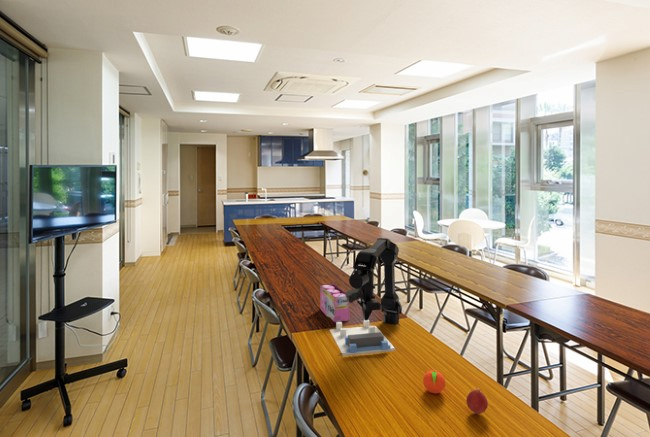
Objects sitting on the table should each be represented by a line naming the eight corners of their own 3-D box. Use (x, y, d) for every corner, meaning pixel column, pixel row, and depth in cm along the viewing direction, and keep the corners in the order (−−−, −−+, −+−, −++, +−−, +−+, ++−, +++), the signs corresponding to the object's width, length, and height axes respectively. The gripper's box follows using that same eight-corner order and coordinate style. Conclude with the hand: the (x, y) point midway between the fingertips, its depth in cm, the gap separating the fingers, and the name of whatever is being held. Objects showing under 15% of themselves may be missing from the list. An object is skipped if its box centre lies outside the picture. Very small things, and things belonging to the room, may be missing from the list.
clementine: (445, 401, 120) (446, 379, 119) (422, 397, 122) (423, 376, 121) (444, 387, 128) (445, 367, 127) (423, 384, 129) (423, 364, 129)
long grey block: (380, 342, 160) (380, 332, 159) (383, 346, 156) (383, 336, 155) (347, 345, 157) (347, 335, 156) (350, 350, 153) (350, 339, 153)
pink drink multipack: (319, 308, 205) (318, 284, 204) (332, 307, 208) (332, 282, 206) (334, 324, 183) (334, 297, 181) (349, 322, 185) (350, 295, 184)
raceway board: (375, 327, 179) (375, 319, 178) (395, 351, 154) (395, 341, 154) (329, 331, 174) (329, 322, 174) (342, 356, 150) (342, 346, 149)
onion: (463, 414, 113) (464, 389, 112) (469, 405, 117) (470, 381, 117) (483, 422, 109) (485, 396, 108) (489, 412, 114) (490, 387, 113)
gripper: (341, 277, 161) (341, 313, 163) (353, 290, 143) (353, 330, 144) (366, 276, 163) (366, 311, 165) (381, 288, 145) (381, 328, 147)
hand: (366, 320), depth 155 cm, fingers closed
